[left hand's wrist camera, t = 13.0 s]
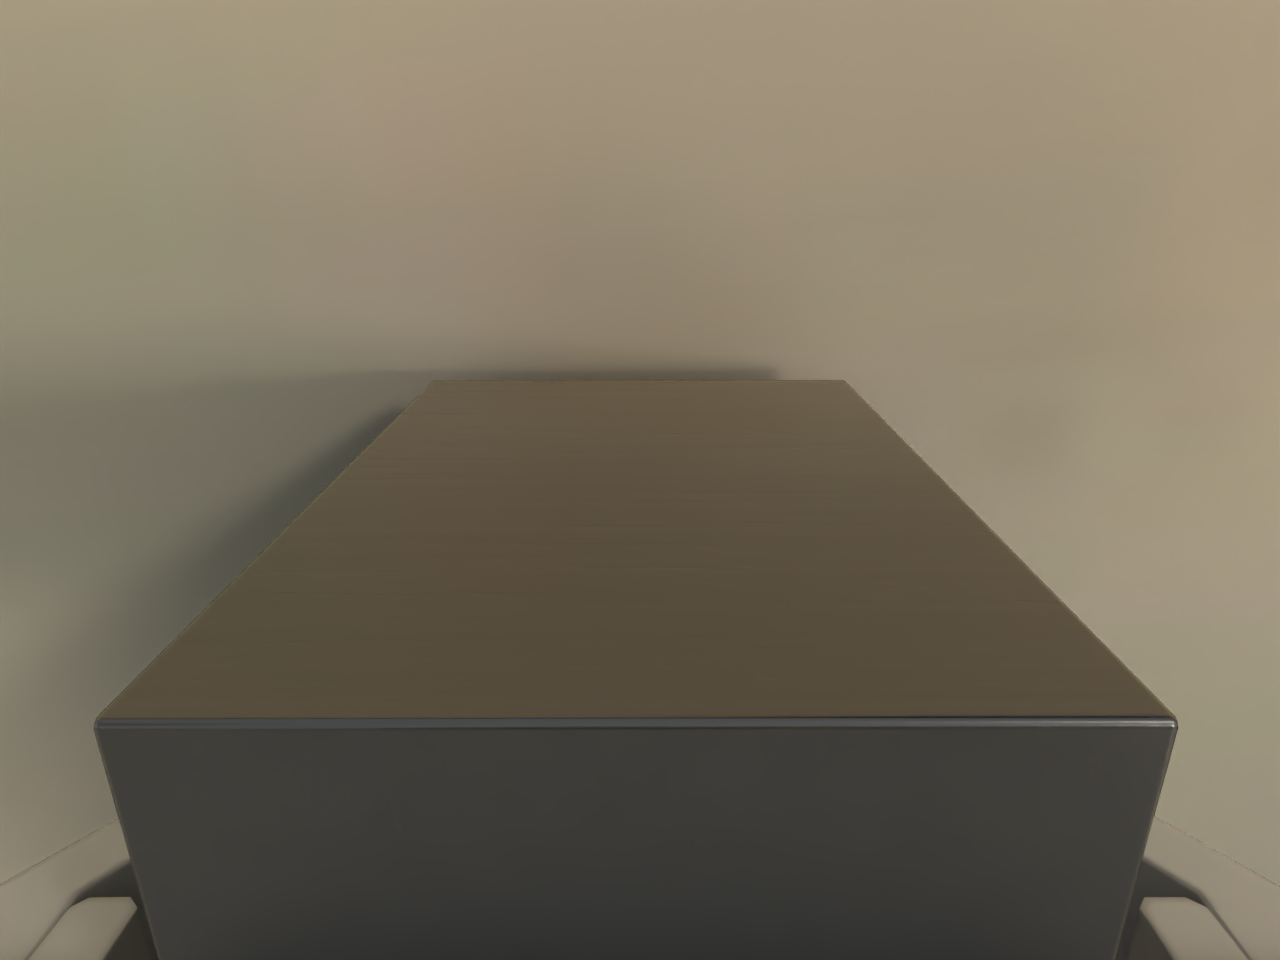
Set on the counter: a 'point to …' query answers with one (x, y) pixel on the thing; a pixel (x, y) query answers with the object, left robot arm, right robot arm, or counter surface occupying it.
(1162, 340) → the counter surface
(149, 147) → the counter surface
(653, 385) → the bar
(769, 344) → the counter surface
